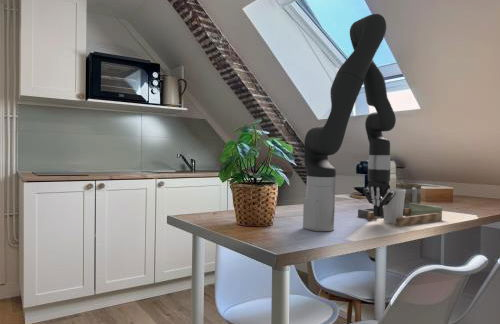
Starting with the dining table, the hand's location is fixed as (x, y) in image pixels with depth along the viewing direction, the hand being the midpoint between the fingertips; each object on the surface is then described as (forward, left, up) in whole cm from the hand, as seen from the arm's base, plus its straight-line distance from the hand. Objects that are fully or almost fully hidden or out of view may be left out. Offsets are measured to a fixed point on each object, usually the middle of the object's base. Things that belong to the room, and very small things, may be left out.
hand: (377, 216), depth 130 cm
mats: (+16, +10, -3) cm, 19 cm away
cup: (+9, 0, -3) cm, 9 cm away
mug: (+37, +12, -3) cm, 39 cm away
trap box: (+16, +4, -3) cm, 17 cm away
